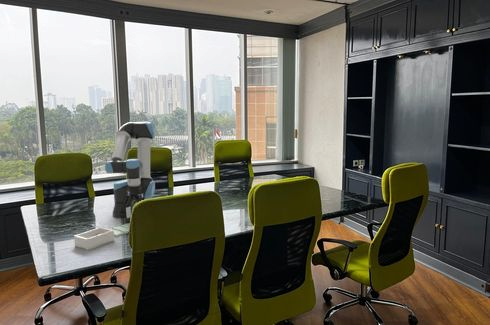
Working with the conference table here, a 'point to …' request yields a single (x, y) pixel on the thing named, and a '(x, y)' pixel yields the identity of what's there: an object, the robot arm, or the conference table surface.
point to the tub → (94, 238)
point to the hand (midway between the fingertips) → (136, 219)
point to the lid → (121, 230)
